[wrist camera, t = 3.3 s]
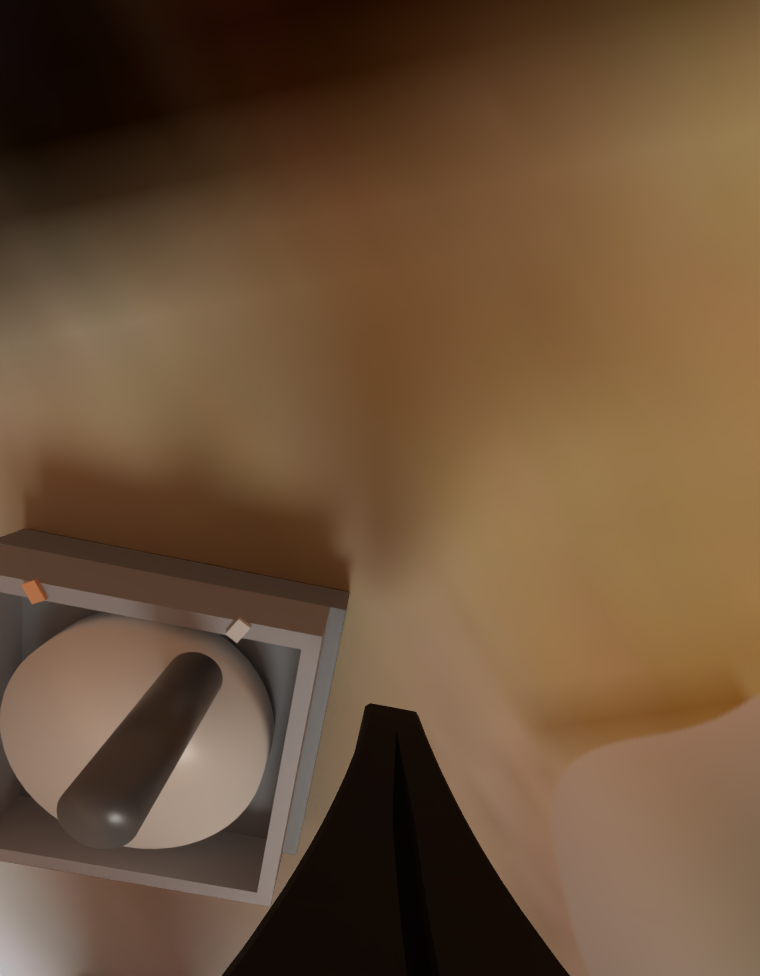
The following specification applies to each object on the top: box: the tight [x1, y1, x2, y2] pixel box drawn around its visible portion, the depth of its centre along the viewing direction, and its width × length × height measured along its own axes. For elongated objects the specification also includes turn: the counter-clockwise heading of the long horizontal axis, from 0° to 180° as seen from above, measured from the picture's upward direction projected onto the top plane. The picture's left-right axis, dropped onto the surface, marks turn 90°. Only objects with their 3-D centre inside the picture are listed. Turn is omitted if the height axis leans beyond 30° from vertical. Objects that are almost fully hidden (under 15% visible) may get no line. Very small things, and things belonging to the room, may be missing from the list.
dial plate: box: [0, 529, 350, 907], centre depth 13 cm, size 10×11×3 cm
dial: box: [0, 612, 274, 849], centre depth 11 cm, size 8×8×5 cm
